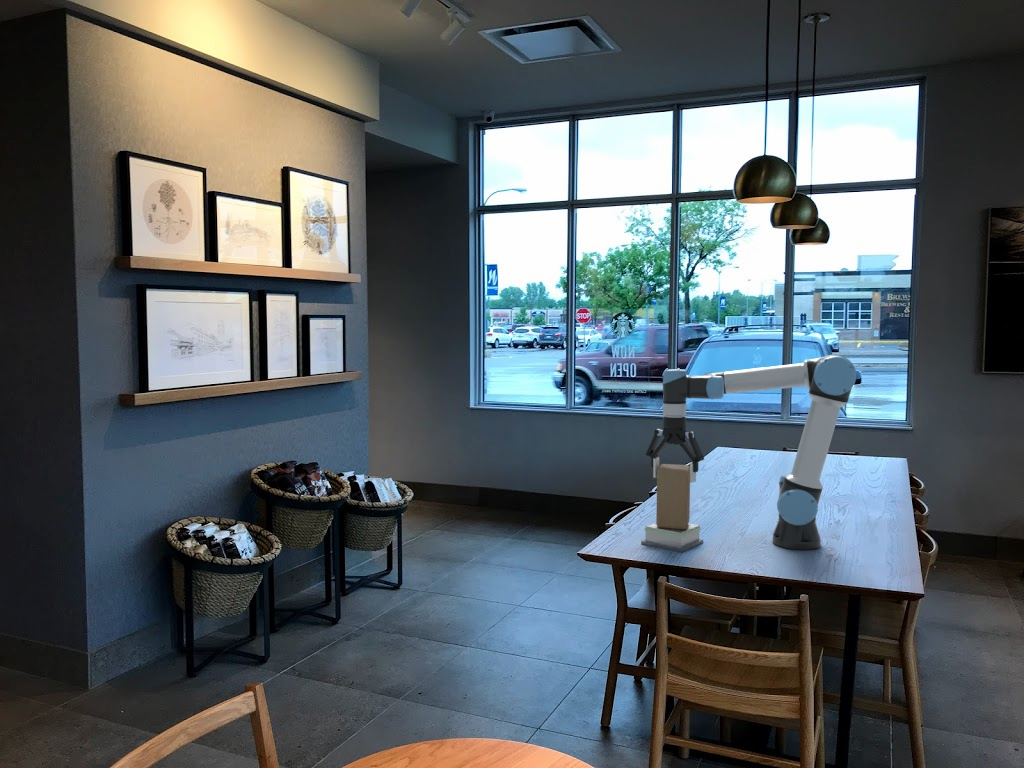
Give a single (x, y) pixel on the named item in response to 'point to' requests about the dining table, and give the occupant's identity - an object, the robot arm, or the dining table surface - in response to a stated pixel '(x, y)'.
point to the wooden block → (673, 496)
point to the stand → (672, 537)
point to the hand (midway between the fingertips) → (674, 479)
